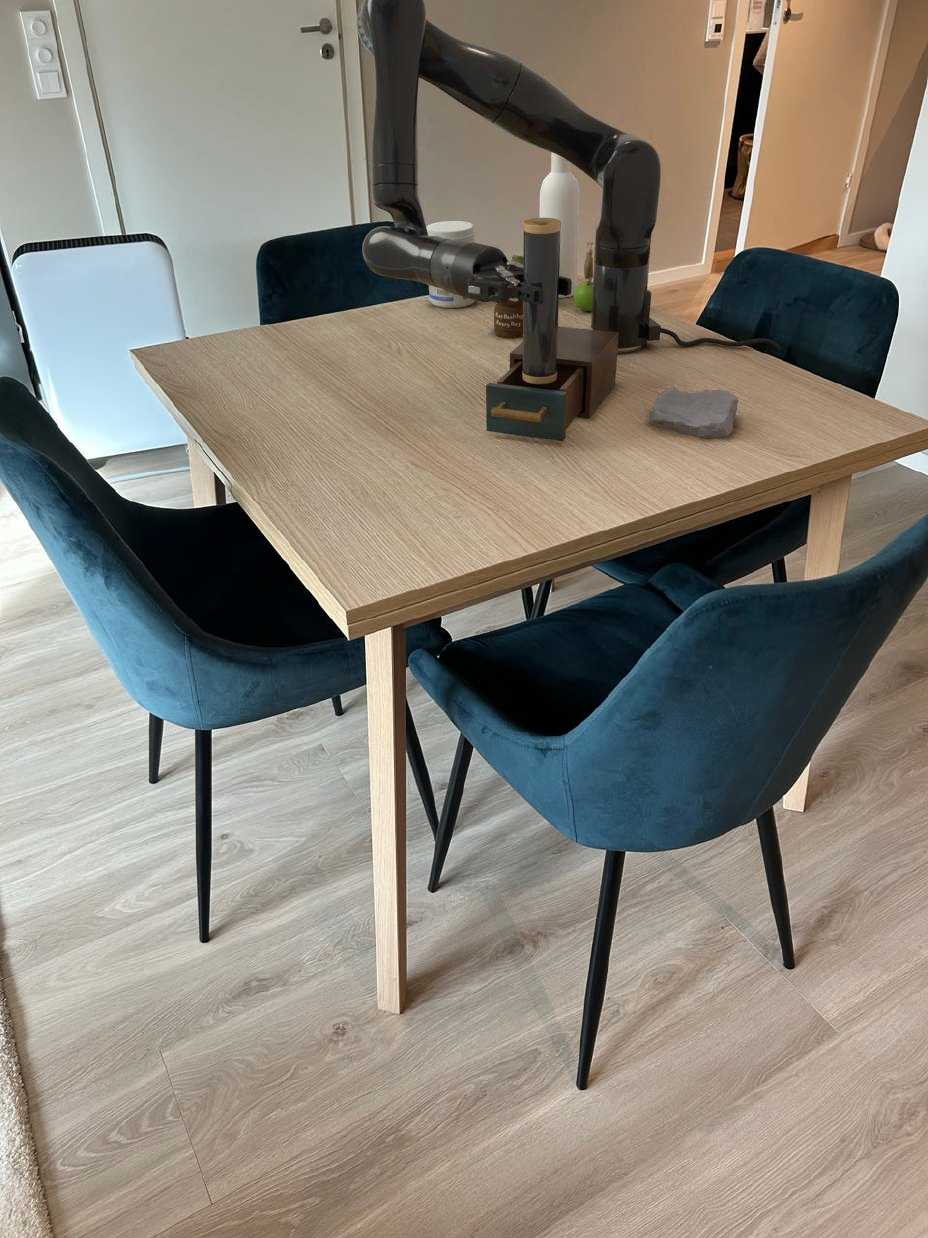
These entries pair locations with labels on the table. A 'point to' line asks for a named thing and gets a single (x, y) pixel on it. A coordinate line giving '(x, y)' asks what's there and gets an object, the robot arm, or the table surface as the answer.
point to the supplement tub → (454, 232)
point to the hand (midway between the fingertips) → (555, 291)
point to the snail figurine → (585, 284)
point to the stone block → (695, 412)
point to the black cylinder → (543, 318)
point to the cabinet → (586, 361)
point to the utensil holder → (508, 319)
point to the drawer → (536, 403)
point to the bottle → (563, 213)
